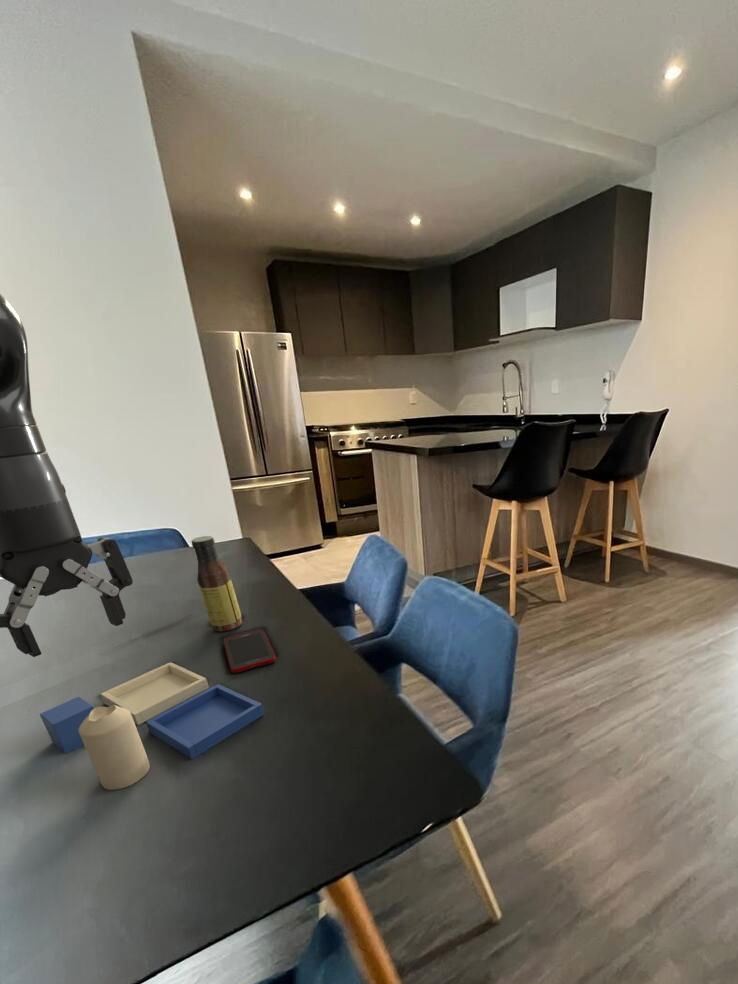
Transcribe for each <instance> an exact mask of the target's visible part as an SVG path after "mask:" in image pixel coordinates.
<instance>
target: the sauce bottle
mask: <svg viewBox="0 0 738 984" xmlns="http://www.w3.org/2000/svg"><path fill="white" fill-rule="evenodd" d="M191 546H192V548H193V549H194V552H195V555H196V560H197V577H196V581H197V585H198V587H199V591H200V594H201V597H202V600H203V603H204V607H205V610H206V614H207V616H208V619H209V622H210V625H211V626H212V628H213V630H214V631H216V632H229V631H232V630H234V629H237V628H239V627H240V626H241V625H242V624H243V618H242V612H241V609H240V605H239V602H238V598H237V596H236V591H235V588H234V585H233V582H232V578H231V576H230V573H229V569H228V567H227V565H226V564H225V563H224V562H223V561H222V560H221V559H220V558H219V555H218V553H217V550H216V547H215V546H216V545H215V539H214V537H213V536H212V535H203V536H199V537H195V538H193V539H191Z"/></svg>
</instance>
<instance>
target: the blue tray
mask: <svg viewBox="0 0 738 984" xmlns="http://www.w3.org/2000/svg"><path fill="white" fill-rule="evenodd" d="M264 715H265V711H264V707H263V704H262V703H260V702H259V701H256V700H254V699H252V698H249V697H248V696H245V695H244V694H241V693H239V692H236V691H234V690H232V689H230V688H228V687H226V686H224V685H222V684H219V683H217V684H215V685H213V686H211V687H209V688H208V689H206V690H204V691H202V692H201V693H199V694H197V695H195V696H193V697H191V698H189V699H187V700H185V701H183V702H181V703H179V704H178V705H176V706H174V707H172V708H170V709H168V710H166V711H164V712H162V713H160V714H158V715H157V716H155V717H153V718H151V719H149V720H147V721H145V724H146V726H147V729H148V733H150V734H152V735H153V736H155V737H156V738H158V739H159V740H161V741H162V742H164V743H165V744H166V745H168V746H170V747H171V748H173V749H175V750H177V751H178V752H180V753H181V754H183V755H185V756H186V757H188V758H189V759H190V760H193V759H195V758H196V757H198V756H199V755H201V754H203V753H204V752H206V751H208V750H209V749H211V748H212V747H214V746H216V745H217V744H220V742H222V741H223V740H226V739H227V738H229V737H230V736H232V735H234V734H235V733H237V732H238V731H240V730H242V729H243V728H245V727H246V726H248V725H250V724H251V723H253V722H255V721H256V720H258V719H259V718H261V717H263V716H264Z"/></svg>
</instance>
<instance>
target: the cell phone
mask: <svg viewBox="0 0 738 984" xmlns="http://www.w3.org/2000/svg"><path fill="white" fill-rule="evenodd" d="M223 645H224V649H225V653H226V657H227V660H228V664H229V667H230V671H231V673H233V674H237V673H241V672H243V671H249V670H251V669H255V668H258V667H263V666H266V665H270V664H272V663H275V662H276V660H277V659H276V654H275V652H274V649H273V647H272V646H271V643H270V642H269V639H268V637H267V635H266V631H264V630H263V629H256V630H253V631H249V632H245V633H241V634H237V635H232V636H228V637H226V638H224V639H223Z"/></svg>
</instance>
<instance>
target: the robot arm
mask: <svg viewBox="0 0 738 984" xmlns="http://www.w3.org/2000/svg"><path fill="white" fill-rule="evenodd" d="M31 395H32V394H31V384H30V369H29V346H28V338H27V334H26V330H25V326H24V324H23V322H22V320H21V318H20V316H19V315H18V313H17V311H16V309H15V308H14V307H13V306H12V304H11V303H10V302H9V301H8V300H7V299H6V297H4V296H3V295H2V294H1V293H0V578H1V579H4V580H5V581H8V582H9V583H12V584H13V587H12V589H11V591H10V594H9V596H8V603H7V605H6V607H5V610H4V612H3V613H0V628H1V629H3V628H5V629H8V632H9V634H10V636H11V638H12V641H13V642H14V644H15V647H16V649H17V650H19V651H20V652H21V653H22V654H24V655H29V656H31V657H32V658H36V657H39V656H41V655H42V651H41V649H40V647H39V644H38V642H37V639H36V638H35V635H34V633H33V630H32V628H31V626H30V625H29V624H28V623H26V620H27V618H28V616H29V613H30V611H31V609H33V607H34V606H35V604H36V602H37V599H38V598H39V597H40V596H44V597H49V596H52V595H55V594H57V593H59V592H60V591H63V590H73V589H75V588H79V585H80V584H81V583H82V584H84V585H87V586H89V587H90V588H92V589H94V590H96V591H98V592H99V593H101V595H99V598H100V600H101V604H102V607H103V609H104V611H105V614H106V617H107V619H108V622H109V623H110V624H111V625H113V626H115V627H118V626H121V625H124V621H123V620H124V619H126V613H127V612H126V611H125V608H124V605H123V602H122V599H121V596H120V593H121V592H122V590H123V589H124V588H125V589H126V587H130V586H132V584H133V583H134V579H133V578H132V575H131V573H130V570H129V568H128V566H127V563H126V561H125V558H124V556H123V554H122V551H121V549H120V547H119V544H118V542H117V540H116V539H112V538H108V537H99V538H98V539H97V540H96V541H94V542H91V543H88V544H86V542H85V541H84V540H83V538H82V535H81V532H80V529H79V526H78V523H77V521H76V519H75V516H74V513H73V511H72V508H71V504H70V502H69V499H68V497H67V491H66V487H65V485H64V484H63V482H62V480H61V478H60V475H59V473H58V471H57V468H56V467H55V464H54V463H53V462H52V460H51V457H50V455H49V453H48V451H47V449H46V446H45V443H44V439H43V438H42V435H41V432H40V430H39V427H38V424H37V421H36V418H35V416H34V412H33V408H32V397H31ZM93 554H95V555H96V557H97V558H99V559H102V560H103V561H104V563H105V565H106V568H107V570H108V573H109V575H110V576H111V579H109V580H108V581H107V580H105V579H104V578H103V577H101V576H99V575H98V574H96V573H94V572H93V571H91V570H89V569H88V568H89V565H90V563H91V560H92V558H93V557H92V556H93Z"/></svg>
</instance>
